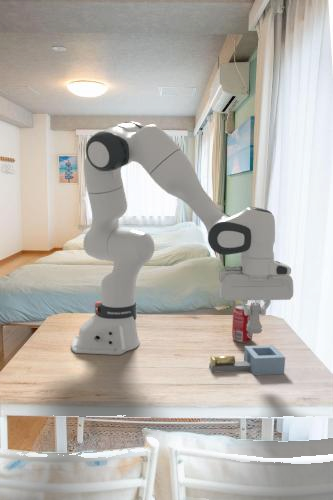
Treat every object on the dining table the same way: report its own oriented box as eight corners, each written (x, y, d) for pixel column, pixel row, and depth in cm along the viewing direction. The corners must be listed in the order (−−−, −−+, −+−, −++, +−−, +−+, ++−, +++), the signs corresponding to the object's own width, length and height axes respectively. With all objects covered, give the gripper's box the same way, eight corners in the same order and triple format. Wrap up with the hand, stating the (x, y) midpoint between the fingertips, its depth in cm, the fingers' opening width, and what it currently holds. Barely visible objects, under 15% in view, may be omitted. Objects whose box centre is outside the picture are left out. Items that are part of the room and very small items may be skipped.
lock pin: (212, 366, 114) (213, 359, 113) (210, 362, 117) (210, 355, 116) (235, 365, 115) (235, 358, 114) (232, 361, 118) (232, 354, 117)
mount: (214, 376, 111) (214, 359, 110) (206, 363, 120) (207, 347, 119) (284, 373, 113) (285, 357, 113) (272, 360, 122) (273, 345, 122)
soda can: (251, 336, 142) (252, 304, 140) (253, 344, 135) (255, 310, 133) (231, 335, 143) (232, 303, 141) (232, 343, 136) (233, 309, 134)
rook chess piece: (244, 328, 115) (246, 301, 113) (260, 328, 114) (261, 301, 113) (247, 333, 110) (248, 306, 109) (263, 334, 110) (265, 306, 109)
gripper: (221, 269, 105) (220, 319, 108) (297, 268, 107) (294, 317, 109) (217, 264, 112) (216, 311, 114) (288, 263, 113) (285, 310, 115)
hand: (254, 314), depth 111 cm, fingers closed on rook chess piece, 3 cm apart
